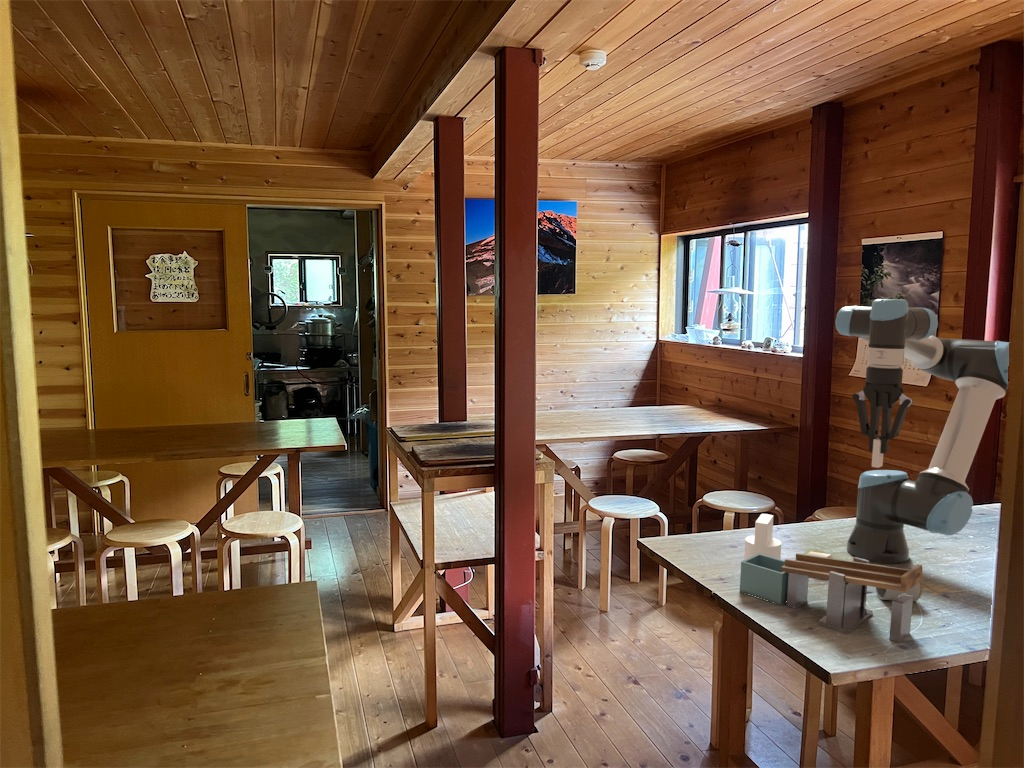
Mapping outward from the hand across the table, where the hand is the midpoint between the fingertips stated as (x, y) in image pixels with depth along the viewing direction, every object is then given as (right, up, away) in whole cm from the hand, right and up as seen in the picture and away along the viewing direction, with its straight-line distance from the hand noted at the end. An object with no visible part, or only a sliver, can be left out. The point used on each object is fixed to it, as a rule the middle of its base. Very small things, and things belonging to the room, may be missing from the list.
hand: (877, 466), depth 172 cm
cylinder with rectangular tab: (-20, -28, +21) cm, 40 cm away
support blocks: (-13, -32, -12) cm, 37 cm away
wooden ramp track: (-11, -22, -12) cm, 27 cm away
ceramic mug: (+4, -31, 0) cm, 31 cm away
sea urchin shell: (-7, -29, +17) cm, 34 cm away
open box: (-25, -30, +1) cm, 39 cm away
